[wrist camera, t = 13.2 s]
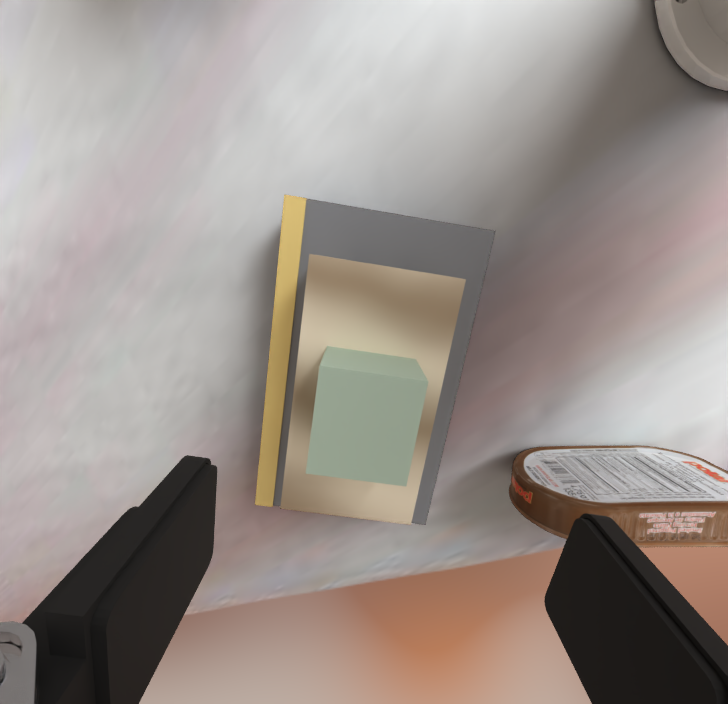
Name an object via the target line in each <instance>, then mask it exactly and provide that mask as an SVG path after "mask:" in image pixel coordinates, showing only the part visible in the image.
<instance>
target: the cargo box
mask: <svg viewBox="0 0 728 704" xmlns="http://www.w3.org/2000/svg"><path fill="white" fill-rule="evenodd" d="M428 382H429V381H428V380H427V378H426V376H425V374H424V373H423V371H422V369H421V367H420V366H419V364H418V362H417V360H416V359H412V358H405V357H398V356H392V355H385V354H378V353H371V352H365V351H358V350H351V349H344V348H337V347H331V346H327V348H326V350H325V353H324V355H323V358H322V361H321V363H320V366H319V374H318V382H317V390H316V397H315V405H314V413H313V421H312V428H311V436H310V444H309V451H308V459H307V467H306V474H313V475H321V476H329V477H336V478H344V479H352V480H360V481H367V482H375V483H383V484H391V485H398V486H406V485H407V481H408V476H409V471H410V467H411V462H412V457H413V452H414V448H415V443H416V438H417V434H418V429H419V424H420V419H421V415H422V410H423V405H424V400H425V396H426V391H427V386H428Z"/></svg>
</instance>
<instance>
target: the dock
mask: <svg viewBox="0 0 728 704" xmlns="http://www.w3.org/2000/svg"><path fill="white" fill-rule="evenodd" d="M494 235H495V231H492V230H486V229H480V228H475V227H469V226H463V225H457V224H451V223H445V222H439V221H434V220H428V219H422V218H416V217H410V216H404V215H399V214H393V213H387V212H381V211H375V210H369V209H364V208H358V207H352V206H346V205H340V204H334V203H328V202H323V201H317V200H311V199H306V198H302V197H296V196H290V195H284V204H283V214H282V225H281V235H280V246H279V256H278V267H277V277H276V288H275V299H274V309H273V320H272V330H271V341H270V351H269V362H268V372H267V383H266V394H265V404H264V415H263V425H262V436H261V446H260V457H259V467H258V478H257V488H256V499H255V505H261V506H269V507H273V506H281V498H282V489H283V480H284V471H285V463H286V454H287V445H288V437H289V428H290V419H291V410H292V402H293V393H294V384H295V375H296V367H297V358H298V349H299V340H300V332H301V323H302V314H303V305H304V297H305V288H306V279H307V270H308V262H309V254H313V255H321V256H327V257H333V258H339V259H345V260H350V261H357V262H363V263H370V264H376V265H382V266H389V267H395V268H400V269H406V270H412V271H419V272H426V273H432V274H438V275H444V276H450V277H456V278H461V279H466V282H465V286H464V291H463V295H462V299H461V304H460V308H459V313H458V317H457V322H456V326H455V331H454V335H453V340H452V344H451V348H450V353H449V357H448V362H447V366H446V371H445V375H444V380H443V384H442V389H441V393H440V397H439V402H438V406H437V411H436V415H435V420H434V424H433V429H432V433H431V437H430V442H429V446H428V451H427V455H426V460H425V464H424V469H423V473H422V478H421V482H420V486H419V491H418V495H417V500H416V504H415V509H414V513H413V518H412V522H411V523H415V524H423V525H426V520H427V516H428V512H429V508H430V504H431V499H432V495H433V491H434V487H435V483H436V478H437V474H438V470H439V466H440V462H441V457H442V453H443V449H444V445H445V441H446V436H447V432H448V428H449V424H450V420H451V415H452V411H453V407H454V403H455V399H456V394H457V390H458V386H459V382H460V378H461V373H462V369H463V365H464V361H465V357H466V352H467V348H468V344H469V340H470V336H471V331H472V327H473V323H474V319H475V315H476V310H477V306H478V302H479V298H480V294H481V289H482V285H483V281H484V277H485V273H486V268H487V264H488V260H489V256H490V252H491V248H492V243H493V239H494Z"/></svg>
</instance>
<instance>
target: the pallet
mask: <svg viewBox="0 0 728 704" xmlns="http://www.w3.org/2000/svg"><path fill="white" fill-rule="evenodd" d="M465 282H466V279H461V278H456V277H450V276H444V275H438V274H432V273H426V272H419V271H412V270H406V269H400V268H395V267H389V266H382V265H376V264H370V263H363V262H357V261H350V260H345V259H339V258H333V257H327V256H321V255H313V254H309V262H308V270H307V279H306V288H305V297H304V305H303V314H302V323H301V332H300V340H299V349H298V358H297V367H296V375H295V384H294V393H293V402H292V410H291V419H290V428H289V437H288V445H287V454H286V463H285V471H284V480H283V489H282V498H281V506H280V509H287V510H295V511H303V512H311V513H319V514H327V515H335V516H343V517H351V518H359V519H367V520H375V521H383V522H391V523H399V524H407V525H411V522H412V518H413V513H414V509H415V504H416V500H417V495H418V491H419V486H420V482H421V478H422V473H423V469H424V464H425V460H426V455H427V451H428V446H429V442H430V437H431V433H432V429H433V424H434V420H435V415H436V411H437V406H438V402H439V397H440V393H441V389H442V384H443V380H444V375H445V371H446V366H447V362H448V357H449V353H450V348H451V344H452V340H453V335H454V331H455V326H456V322H457V317H458V313H459V308H460V304H461V299H462V295H463V291H464V286H465ZM327 346H331V347H337V348H344V349H351V350H358V351H365V352H371V353H378V354H385V355H392V356H398V357H405V358H412V359H416V360H417V362H418V364H419V366H420V367H421V369H422V371H423V373H424V374H425V376H426V378H427V380H428V381H429V382H428V386H427V391H426V396H425V400H424V405H423V410H422V415H421V419H420V424H419V429H418V434H417V438H416V443H415V448H414V452H413V457H412V462H411V467H410V471H409V476H408V481H407V485H406V486H398V485H391V484H383V483H375V482H367V481H360V480H352V479H344V478H336V477H329V476H321V475H313V474H306V467H307V459H308V451H309V444H310V436H311V428H312V421H313V413H314V405H315V397H316V390H317V382H318V374H319V366H320V363H321V361H322V358H323V355H324V353H325V350H326V348H327Z"/></svg>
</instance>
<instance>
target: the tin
mask: <svg viewBox="0 0 728 704" xmlns="http://www.w3.org/2000/svg"><path fill="white" fill-rule="evenodd" d="M509 496H510V499H511V501H512V503H513V505H514V506H515V507H516V509H517V510H518V511H519V512H520V513H521V514H522V515H523V516H524V517H526V518H527V519H528V520H530V521H531V522H532V523H534V524H536V525H537V526H539V527H540V528H542V529H544V530H546V531H548V532H550V533H552V534H554V535H557V536H559V537H562V538H565V539H567V538H568V536H569V533H570V531H571V528H572V525H573V523H574V521H575V520H576V519H577V518H580V516H581V515H583V514H585V513H588V514H595V515H602V516H607V517H610V518H612V519H613V520H614V521H615V522H616V523H617V524H618V526H619V527H620V528H621V529H622V530H623V531H624V532H625V533H626V534H627V535H628V537H629V538H630V539H631V540H632V541H633V542H634V543H635V544H636V545H637V546H638V547H728V471H726V470H724V469H722V468H720V467H718V466H715V465H714V464H712V463H710V462H708V461H706V460H704V459H702V458H699V457H696V456H693V455H690V454H686V453H682V452H678V451H673V450H669V449H664V448H657V447H650V446H550V447H536V448H531V449H528V450H525V451H523V452H521V453H520V454H518V455H517V457H516V458H515V460H514V462H513V467H512V477H511V485H510V487H509Z"/></svg>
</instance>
